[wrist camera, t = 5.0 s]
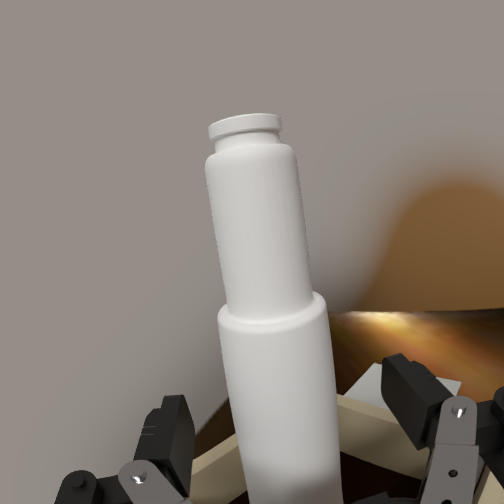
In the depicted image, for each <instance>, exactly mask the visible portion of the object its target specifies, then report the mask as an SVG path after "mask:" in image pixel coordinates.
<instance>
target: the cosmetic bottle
mask: <svg viewBox="0 0 504 504" xmlns="http://www.w3.org/2000/svg"><path fill="white" fill-rule="evenodd" d="M281 131H282V124H281V118H280V117H279V116H278V115H274V114H264V113H262V114H261V113H257V114H245V115H239V116H234V117H230V118H226V119H223V120H221V121H218V122H215V123H213V124H211V125H210V126H209V127H208V132H209V139H210V141H212V142H214V145H215V152H216V153H215V154H213V155H211V156H209V157H208V159H207V160H206V164H205V174H206V180H207V187H208V193H209V200H210V206H211V212H212V218H213V224H214V230H215V236H216V242H217V248H218V254H219V260H220V265H221V271H222V277H223V282H224V288H225V294H226V299H227V303H226V304H225V305H224V306H223V307H222V308H221V309H220V311H219V313H218V319H217V320H218V328H219V335H220V342H221V350H222V356H223V362H224V369H225V376H226V382H227V388H228V394H229V399H230V405H231V410H232V416H233V421H234V426H235V431H236V436H237V441H238V446H239V451H240V455H241V460H242V465H243V470H244V475H245V480H246V484H247V490H248V495H249V501H250V504H343V496H342V486H341V471H340V449H339V427H338V410H337V395H336V383H335V372H334V362H333V353H332V344H331V336H330V329H329V321H328V314H327V308H326V302H325V300H324V298H323V297H322V296H321V295H320V294H318V293H316V292H314V291H312V284H311V274H310V264H309V255H308V246H307V237H306V230H305V220H304V213H303V205H302V197H301V190H300V182H299V175H298V168H297V161H296V156H295V153H294V151H293V150H292V148H291V147H290V146H289V145H286V144H280V138H279V132H281Z"/></svg>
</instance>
